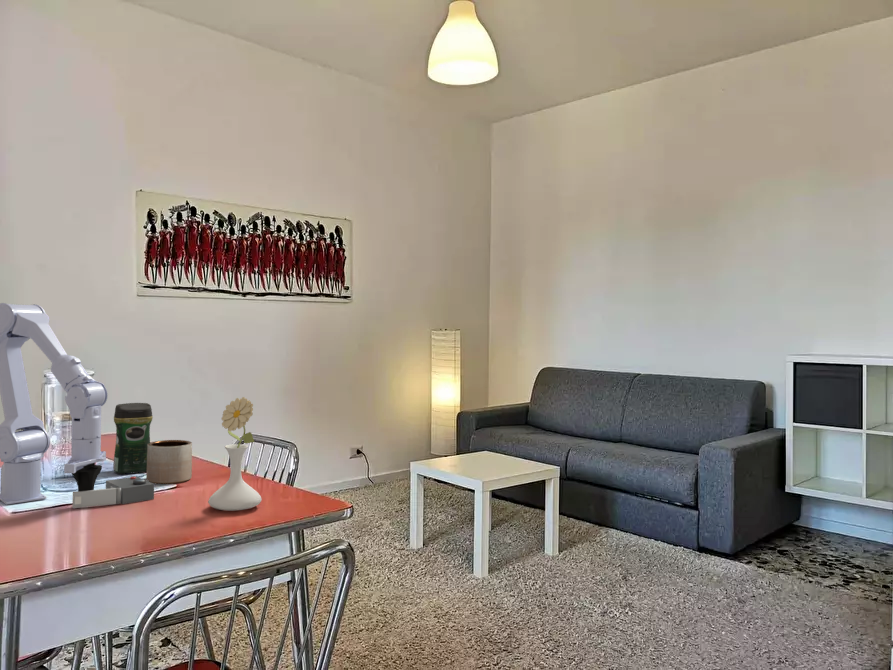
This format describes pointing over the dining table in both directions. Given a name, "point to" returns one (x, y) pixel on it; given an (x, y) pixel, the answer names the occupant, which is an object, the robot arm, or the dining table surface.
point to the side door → (96, 497)
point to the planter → (169, 461)
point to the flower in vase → (236, 461)
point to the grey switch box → (132, 489)
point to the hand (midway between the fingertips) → (85, 499)
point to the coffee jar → (132, 437)
